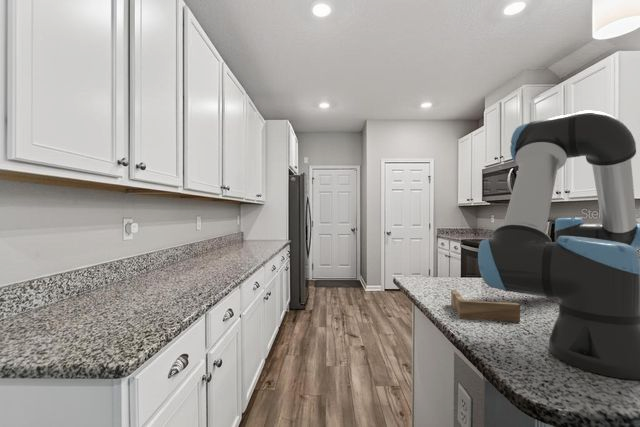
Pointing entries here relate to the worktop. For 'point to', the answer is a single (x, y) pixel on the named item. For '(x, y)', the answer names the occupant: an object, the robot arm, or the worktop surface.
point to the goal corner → (485, 309)
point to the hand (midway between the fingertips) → (494, 267)
